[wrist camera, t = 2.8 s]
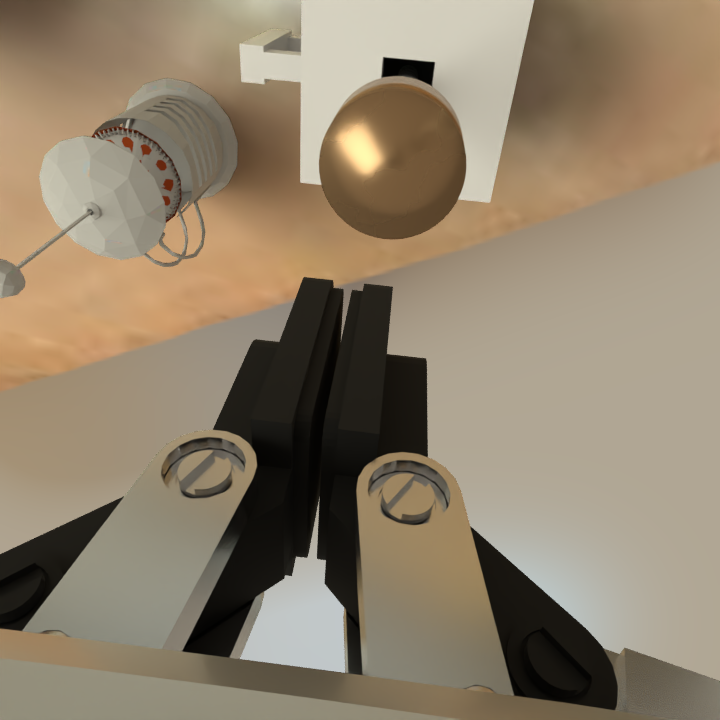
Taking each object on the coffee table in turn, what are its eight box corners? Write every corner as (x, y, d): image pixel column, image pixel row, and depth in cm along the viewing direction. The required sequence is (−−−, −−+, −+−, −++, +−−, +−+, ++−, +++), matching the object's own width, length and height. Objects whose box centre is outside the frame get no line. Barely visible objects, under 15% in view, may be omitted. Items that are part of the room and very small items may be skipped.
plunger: (457, 32, 32) (479, 97, 17) (443, 124, 35) (452, 246, 20) (370, 23, 32) (320, 82, 17) (363, 116, 35) (317, 231, 20)
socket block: (509, -37, 37) (541, -33, 26) (475, 142, 44) (490, 202, 33) (278, -57, 38) (219, -61, 27) (280, 122, 45) (234, 175, 34)
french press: (195, 55, 42) (-16, 147, 22) (270, 193, 48) (157, 364, 28) (98, 109, 45) (-163, 233, 25) (180, 233, 51) (20, 412, 31)
